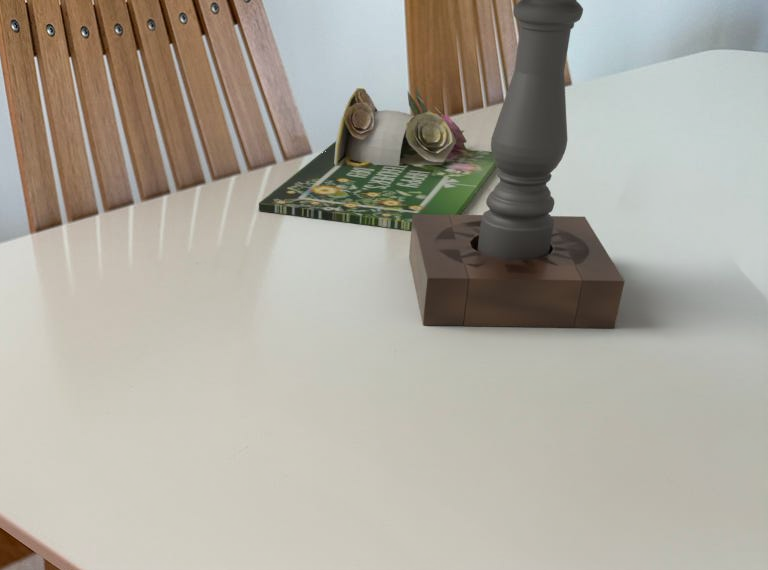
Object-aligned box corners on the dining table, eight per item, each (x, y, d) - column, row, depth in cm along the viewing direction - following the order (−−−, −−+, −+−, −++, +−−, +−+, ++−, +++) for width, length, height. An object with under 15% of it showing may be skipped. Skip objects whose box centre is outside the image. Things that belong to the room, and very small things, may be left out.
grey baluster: (508, 240, 95) (556, -96, 79) (562, 259, 91) (624, -89, 75) (462, 255, 92) (501, -91, 76) (515, 275, 88) (569, -84, 72)
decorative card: (355, 66, 128) (517, 81, 123) (352, 134, 133) (507, 150, 128) (258, 131, 105) (453, 152, 99) (258, 210, 109) (445, 234, 104)
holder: (576, 259, 99) (584, 216, 97) (614, 328, 87) (624, 281, 84) (408, 257, 99) (412, 213, 97) (422, 325, 87) (427, 278, 85)
